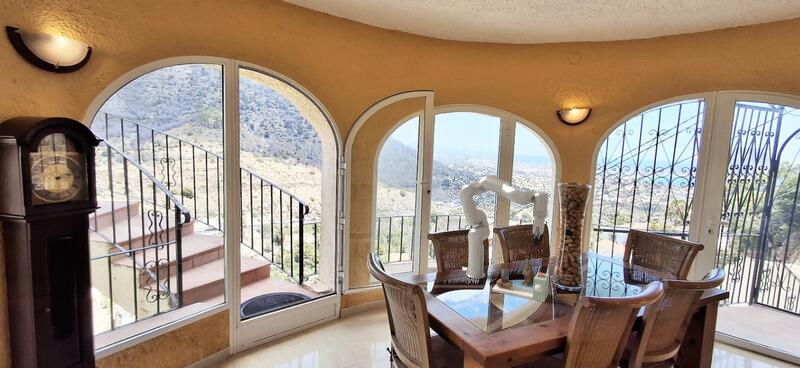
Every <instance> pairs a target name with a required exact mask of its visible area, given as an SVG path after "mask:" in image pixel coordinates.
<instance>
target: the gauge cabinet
mask: <svg viewBox="0 0 800 368" xmlns="http://www.w3.org/2000/svg"><path fill="white" fill-rule="evenodd" d="M539 273H540V272H537V273H536V274H535V277H534V282H533V285H532V287H533V288H532V289H533V301H536V302H542V303H545V301H546V300H547V297H548V295H549V287H550V285H549V283H550V282H549V281H550V274H549V273H545V278H541V277H538V275H539Z"/></svg>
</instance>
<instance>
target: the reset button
mask: <svg viewBox="0 0 800 368" xmlns="http://www.w3.org/2000/svg"><path fill="white" fill-rule="evenodd" d="M545 274H546V273H544V272H539V275H538V277H541V278H545Z"/></svg>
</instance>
